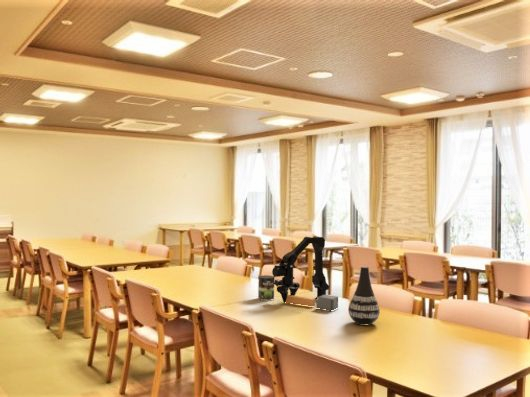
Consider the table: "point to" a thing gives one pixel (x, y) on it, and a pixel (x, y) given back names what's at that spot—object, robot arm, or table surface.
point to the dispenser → (327, 302)
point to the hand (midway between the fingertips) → (288, 301)
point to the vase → (364, 301)
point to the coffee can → (266, 287)
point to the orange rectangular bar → (300, 300)
